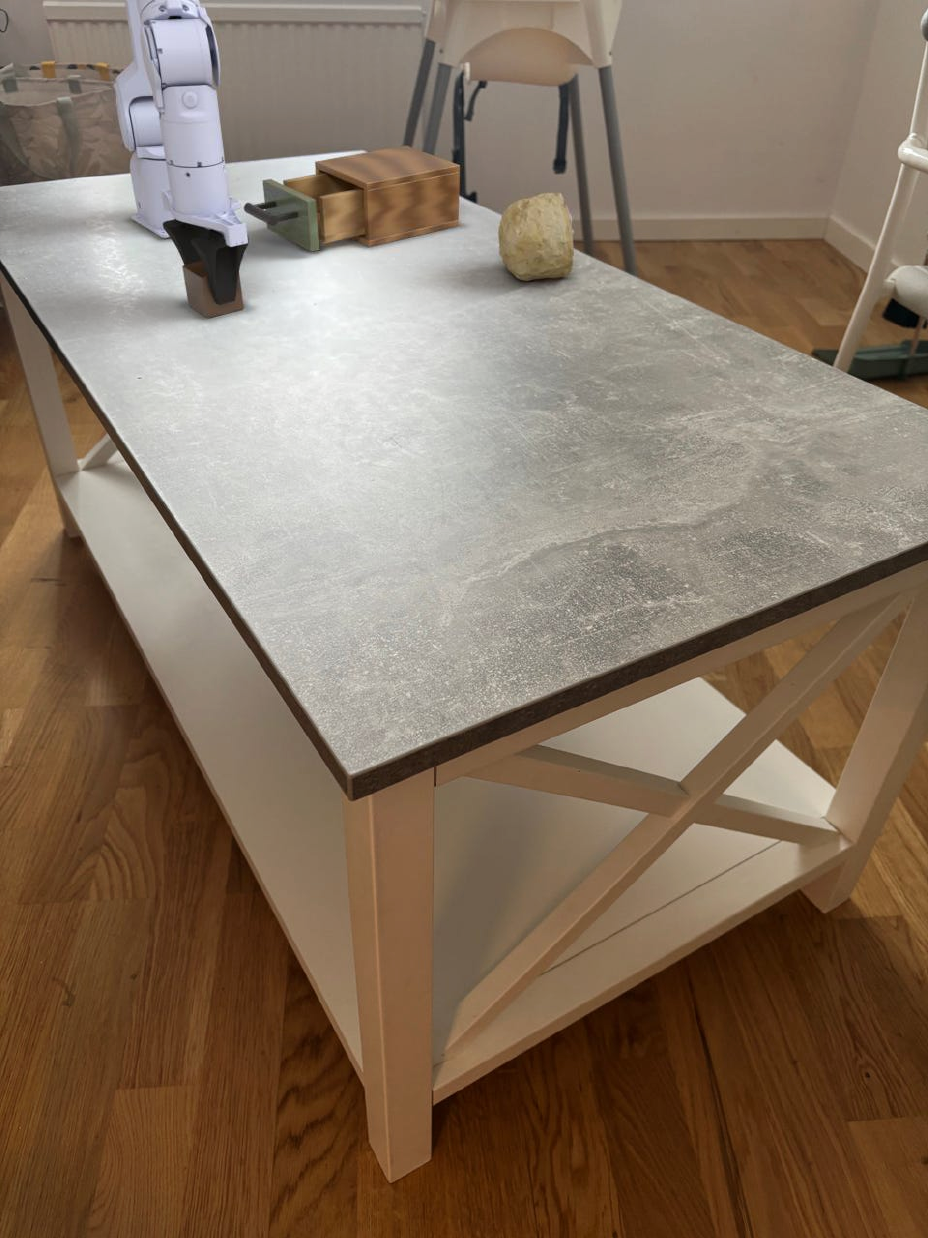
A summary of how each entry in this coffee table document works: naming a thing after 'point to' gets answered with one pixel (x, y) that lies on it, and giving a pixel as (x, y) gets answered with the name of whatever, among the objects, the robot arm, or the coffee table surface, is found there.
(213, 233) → the robot arm
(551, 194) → the beige lumpy stone
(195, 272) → the block
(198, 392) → the coffee table surface
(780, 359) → the coffee table surface
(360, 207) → the drawer
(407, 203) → the cabinet
